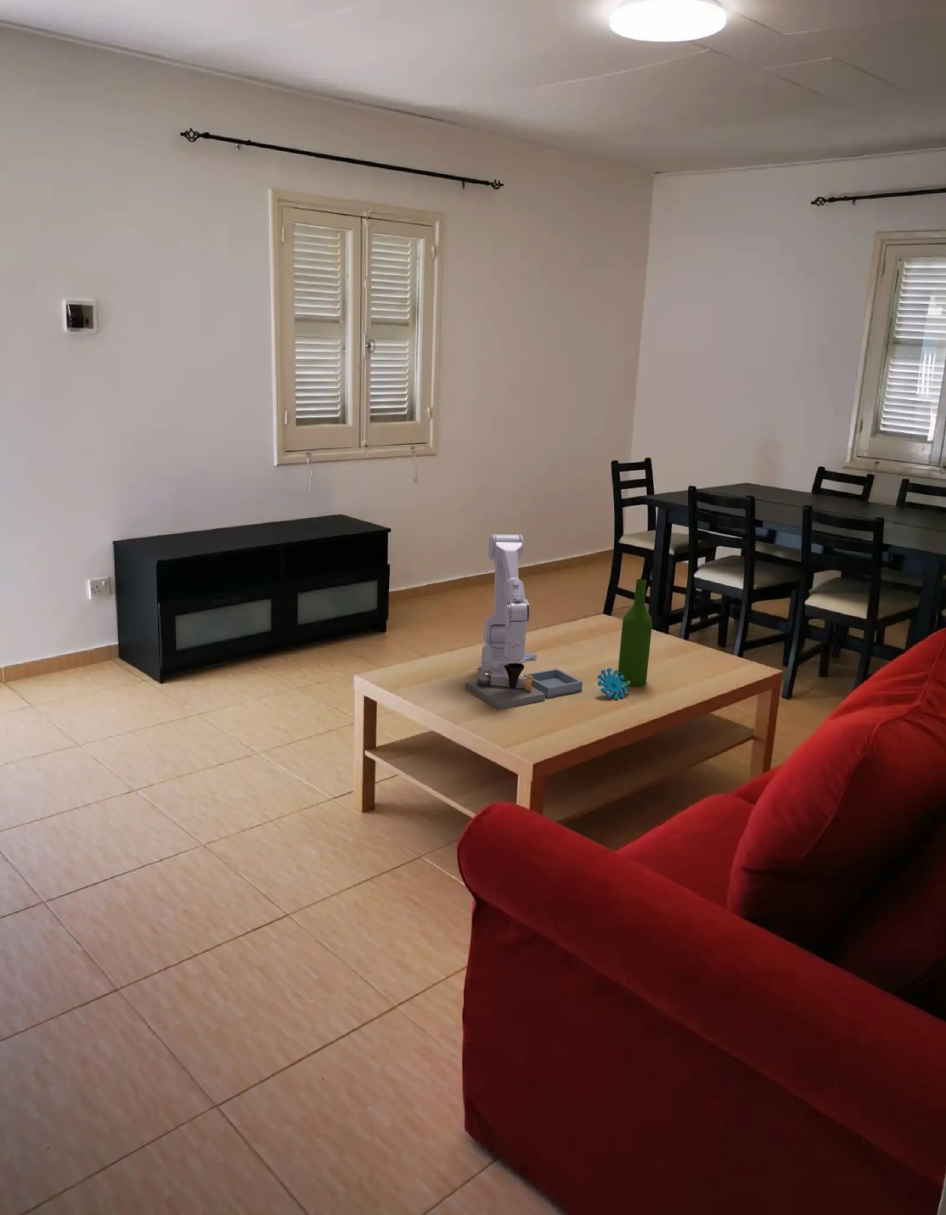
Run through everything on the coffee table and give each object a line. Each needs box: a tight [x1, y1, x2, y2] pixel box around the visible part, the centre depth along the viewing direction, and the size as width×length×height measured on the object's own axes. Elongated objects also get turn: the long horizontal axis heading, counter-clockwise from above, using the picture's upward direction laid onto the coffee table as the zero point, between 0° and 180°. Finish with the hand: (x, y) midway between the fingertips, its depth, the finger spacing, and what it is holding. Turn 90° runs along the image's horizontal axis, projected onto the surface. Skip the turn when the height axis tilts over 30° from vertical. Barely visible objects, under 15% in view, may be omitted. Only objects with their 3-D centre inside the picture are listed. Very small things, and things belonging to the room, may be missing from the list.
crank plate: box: [465, 679, 546, 710], centre depth 277 cm, size 18×16×2 cm
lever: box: [476, 669, 533, 691], centre depth 277 cm, size 16×5×4 cm, turn 81°
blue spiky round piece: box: [597, 667, 630, 700], centre depth 281 cm, size 11×6×10 cm
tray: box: [523, 668, 583, 699], centre depth 284 cm, size 13×13×3 cm
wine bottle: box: [616, 578, 653, 688], centre depth 288 cm, size 9×9×32 cm
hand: (512, 687), depth 274 cm, fingers closed
